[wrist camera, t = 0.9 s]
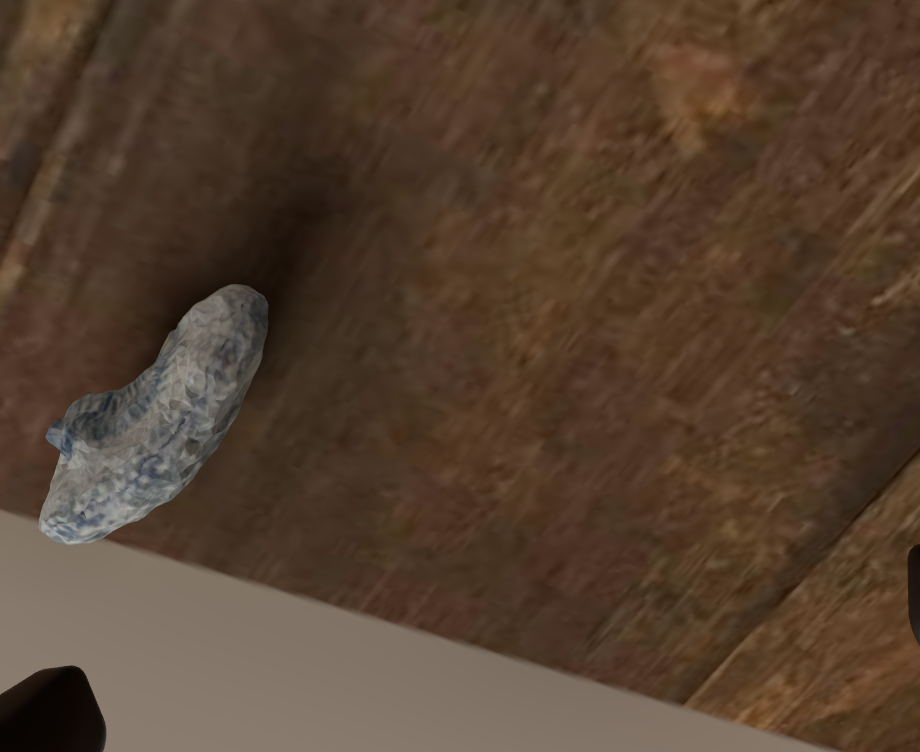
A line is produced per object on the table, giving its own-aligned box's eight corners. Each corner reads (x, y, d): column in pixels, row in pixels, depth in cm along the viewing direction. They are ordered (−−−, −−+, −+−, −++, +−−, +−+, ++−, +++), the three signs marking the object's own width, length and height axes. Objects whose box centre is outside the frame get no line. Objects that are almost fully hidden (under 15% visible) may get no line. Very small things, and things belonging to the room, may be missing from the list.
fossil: (242, 235, 20) (165, 269, 16) (337, 327, 21) (292, 385, 16) (59, 436, 22) (-58, 520, 18) (152, 513, 23) (63, 614, 18)
